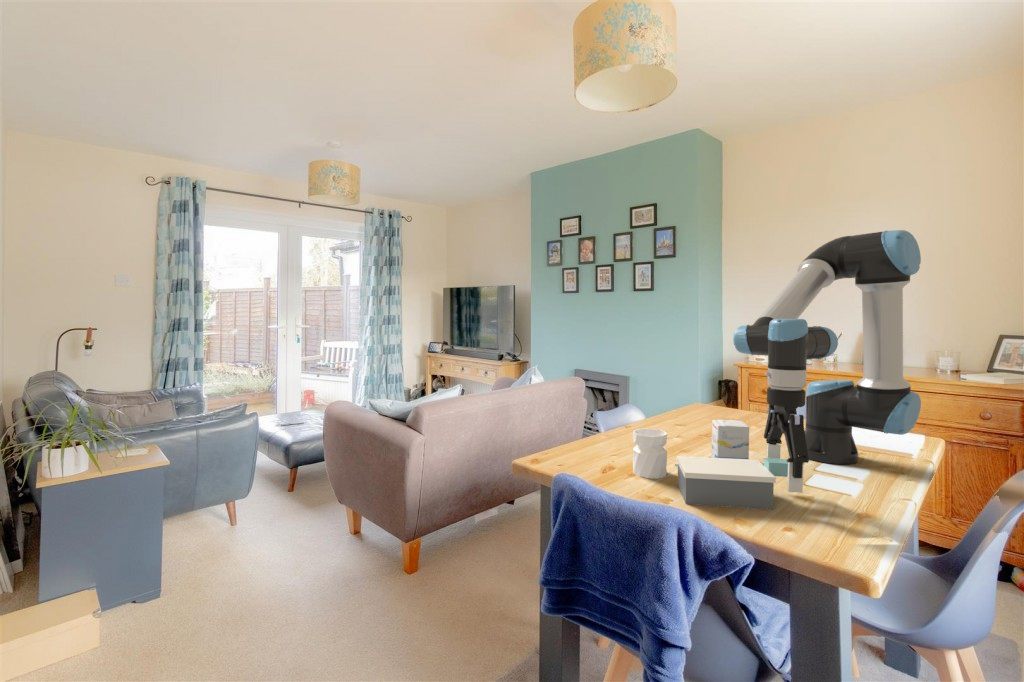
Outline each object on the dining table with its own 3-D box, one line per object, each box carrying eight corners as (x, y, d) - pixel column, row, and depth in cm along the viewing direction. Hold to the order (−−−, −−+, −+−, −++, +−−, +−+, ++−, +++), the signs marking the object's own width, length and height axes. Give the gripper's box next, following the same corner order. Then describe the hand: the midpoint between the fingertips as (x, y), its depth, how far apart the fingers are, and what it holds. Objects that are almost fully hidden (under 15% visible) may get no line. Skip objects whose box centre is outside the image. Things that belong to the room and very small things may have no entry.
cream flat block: (782, 470, 115) (783, 453, 114) (804, 489, 102) (804, 470, 102) (676, 464, 119) (676, 448, 119) (684, 482, 107) (685, 464, 107)
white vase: (657, 470, 133) (657, 427, 133) (672, 481, 125) (673, 435, 124) (627, 472, 132) (627, 429, 131) (641, 483, 123) (641, 437, 122)
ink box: (749, 467, 135) (750, 426, 135) (716, 465, 137) (717, 425, 136) (741, 458, 144) (741, 420, 143) (710, 456, 145) (711, 418, 145)
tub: (755, 493, 116) (756, 464, 115) (772, 514, 104) (773, 482, 104) (677, 488, 119) (677, 461, 119) (685, 508, 107) (686, 477, 107)
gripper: (751, 379, 121) (749, 463, 122) (788, 396, 96) (785, 500, 97) (783, 380, 119) (781, 464, 120) (830, 397, 95) (826, 503, 96)
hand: (783, 481), depth 109 cm, fingers open, 13 cm apart
